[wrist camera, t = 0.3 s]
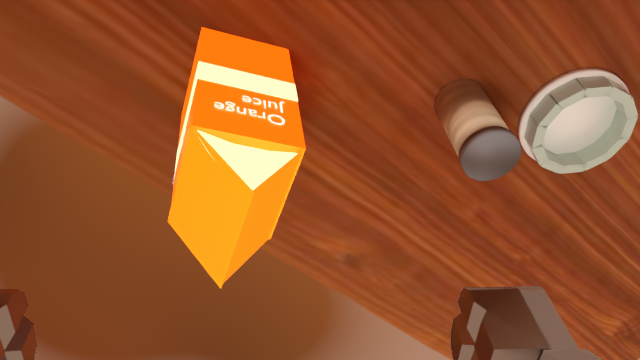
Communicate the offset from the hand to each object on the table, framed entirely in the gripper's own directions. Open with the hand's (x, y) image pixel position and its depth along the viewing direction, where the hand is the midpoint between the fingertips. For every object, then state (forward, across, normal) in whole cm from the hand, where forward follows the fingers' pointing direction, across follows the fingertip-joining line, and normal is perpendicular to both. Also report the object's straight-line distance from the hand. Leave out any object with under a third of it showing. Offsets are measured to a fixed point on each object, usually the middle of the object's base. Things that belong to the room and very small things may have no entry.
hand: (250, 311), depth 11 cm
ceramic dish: (+43, -31, +16) cm, 55 cm away
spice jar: (+42, -18, +14) cm, 48 cm away
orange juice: (+40, +3, +12) cm, 42 cm away
